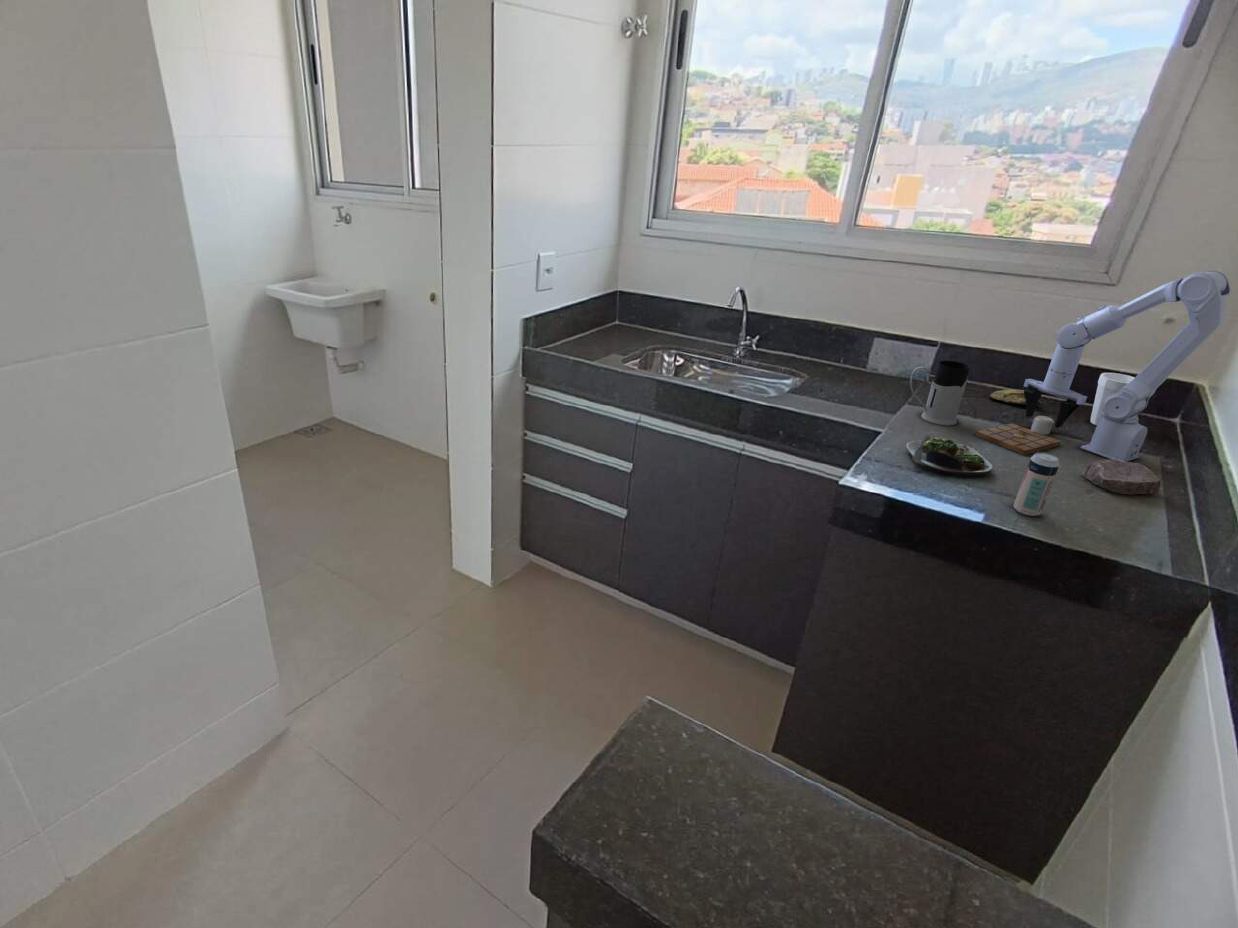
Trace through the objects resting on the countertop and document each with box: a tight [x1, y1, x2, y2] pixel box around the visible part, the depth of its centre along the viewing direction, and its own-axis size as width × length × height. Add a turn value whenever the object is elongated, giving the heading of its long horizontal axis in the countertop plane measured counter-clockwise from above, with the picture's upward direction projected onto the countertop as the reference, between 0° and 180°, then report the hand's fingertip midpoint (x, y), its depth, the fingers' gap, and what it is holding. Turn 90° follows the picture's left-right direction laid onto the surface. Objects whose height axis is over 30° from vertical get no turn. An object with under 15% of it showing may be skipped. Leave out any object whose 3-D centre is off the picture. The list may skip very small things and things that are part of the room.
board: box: [976, 422, 1061, 456], centre depth 164 cm, size 13×15×1 cm
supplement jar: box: [1013, 452, 1060, 517], centre depth 127 cm, size 5×5×12 cm
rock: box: [989, 389, 1042, 406], centre depth 190 cm, size 13×10×4 cm
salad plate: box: [906, 434, 994, 479], centre depth 150 cm, size 19×18×5 cm
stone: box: [1084, 459, 1162, 495], centre depth 142 cm, size 9×12×5 cm
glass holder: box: [909, 360, 971, 426], centre depth 172 cm, size 9×14×15 cm, turn 83°
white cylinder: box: [1030, 415, 1055, 435], centre depth 170 cm, size 4×4×4 cm
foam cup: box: [1089, 372, 1136, 426], centre depth 175 cm, size 10×9×13 cm
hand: (1043, 421), depth 170 cm, fingers open, 7 cm apart
